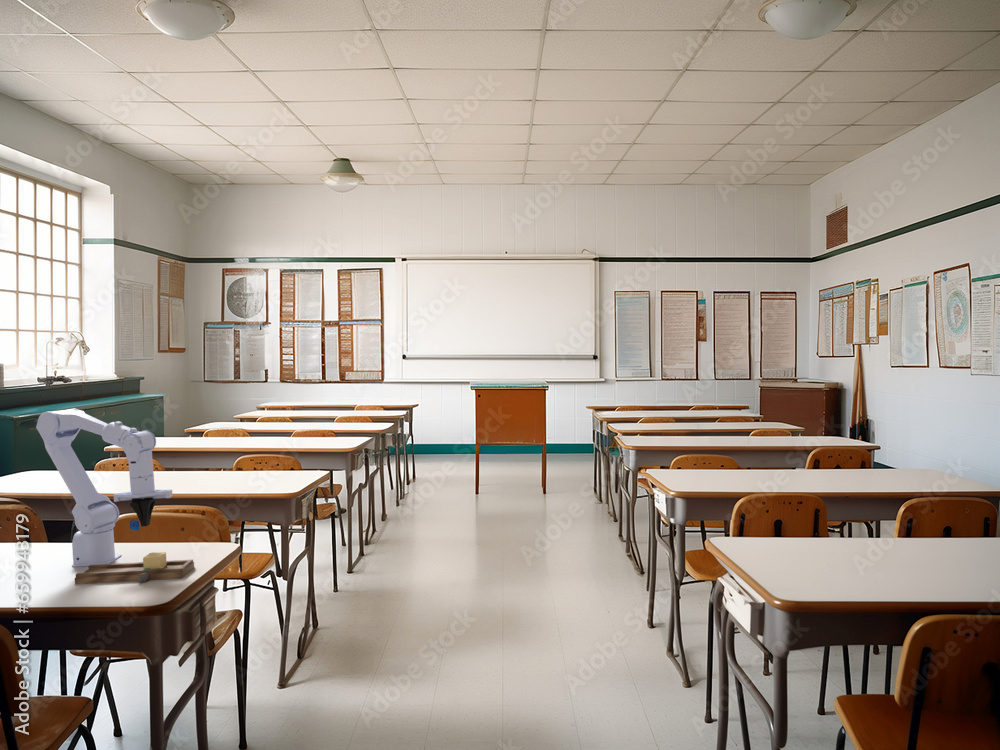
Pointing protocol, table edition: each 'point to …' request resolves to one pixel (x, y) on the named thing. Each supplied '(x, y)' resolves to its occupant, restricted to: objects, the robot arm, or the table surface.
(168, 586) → the table surface
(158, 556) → the block
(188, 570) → the balance beam
